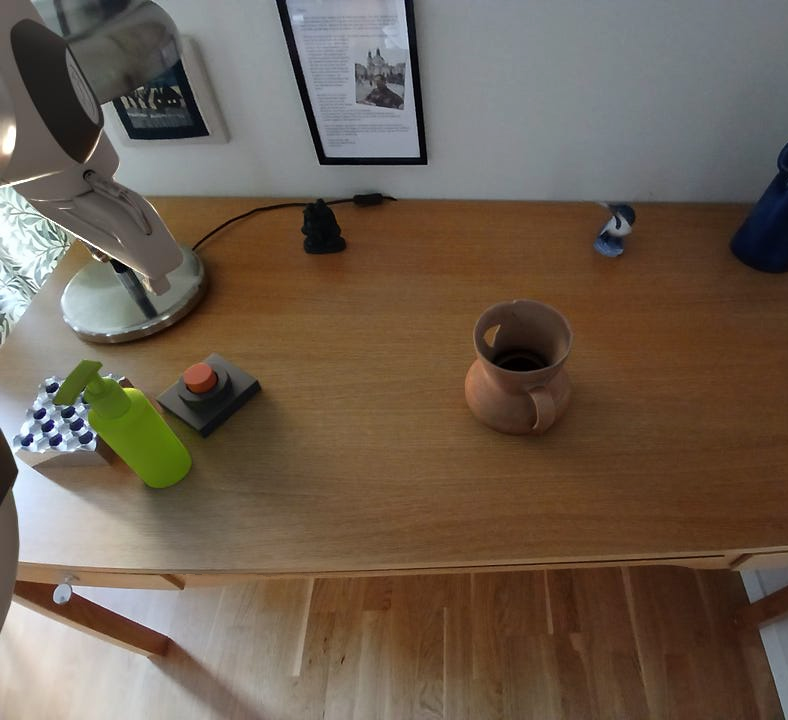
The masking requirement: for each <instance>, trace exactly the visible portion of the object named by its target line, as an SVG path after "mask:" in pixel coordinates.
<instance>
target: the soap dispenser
mask: <svg viewBox="0 0 788 720" xmlns="http://www.w3.org/2000/svg"><path fill="white" fill-rule="evenodd" d="M103 366H104V364H103V363H102V362H101V361H98V360H90V359H82V360H81V362H79V363H78V365H77V366H76V367H75V368H73V370H72V371H71V372H70V373H69V374H68V376H67V377H66V378H65V379H64V381H63V382H62V384H61V385H60V386H59V388H58V390H57V392H56V393H55V395H54V397H53V399H52V401H51V404H52V405H57V406H64V407H71V406H74V405H75V404H76V402H77V400H78V398H79V397H80V395H81V393H82V391H83V394H82V397H83V400H84V402H86V403H87V405H88V406H89V407H90V409H89V411H88V414H87V423H88V425H89V426H90V428H91V429H92V430H93V431H94V432H95V434H97V435H98V436H99V437H100V438H101V439H102V440H103V441H104V443H106V444H107V445H108V446H109V447H110V449H112V450H113V451H114V452H115V453H116V455H118V457H119V458H121V460H123V462H124V463H125V464H126V465H127V466H128V467H129V468H130V469H131V470H132V472H134V473H135V474H136V475H137V476H138V477H139V478H140V479H141V480H142V481H143V482H144V483H145V485H147V486H148V487H151V488H152V489H153V488H154V489H165V488H169V487H172V486H174V485H176V484H178V483H179V482H180V481H181V480H183V479H184V478H185V477H186V476H187V474H188V473H189V472H190V469H191V467H192V463H193V462H192V456H191V454H190V452H189V451H188V449H187V448H186V447H185V446H184V444H183V443H182V442H181V441H180V439H179V438H178V437H177V436H176V434H175V433H174V432H173V430H172V429H171V427H169V425H168V424H167V422H166V421H165V420H164V418H163V417H162V416H161V415H160V413H159V412H158V411H157V409H156V408H155V407H154V406H153V404H152V403H151V402H150V400H149V399H148V398H147V396H146V395H145V394H144V392H142V391H141V390H139V389H137V388H134V387H123V386H121V385H120V383H119V382H118V381H117V380H116V379H114V378H112V377H102V376H101V375H100V373H99V371H100V370H101V369H102V368H103Z"/></svg>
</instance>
